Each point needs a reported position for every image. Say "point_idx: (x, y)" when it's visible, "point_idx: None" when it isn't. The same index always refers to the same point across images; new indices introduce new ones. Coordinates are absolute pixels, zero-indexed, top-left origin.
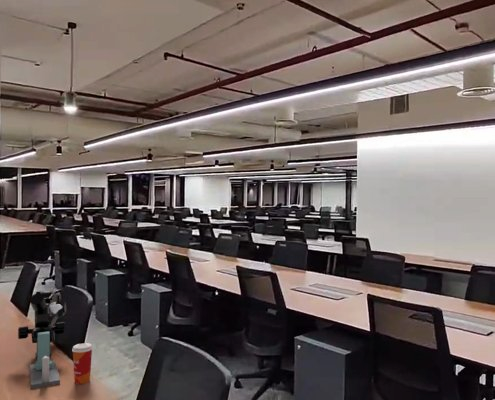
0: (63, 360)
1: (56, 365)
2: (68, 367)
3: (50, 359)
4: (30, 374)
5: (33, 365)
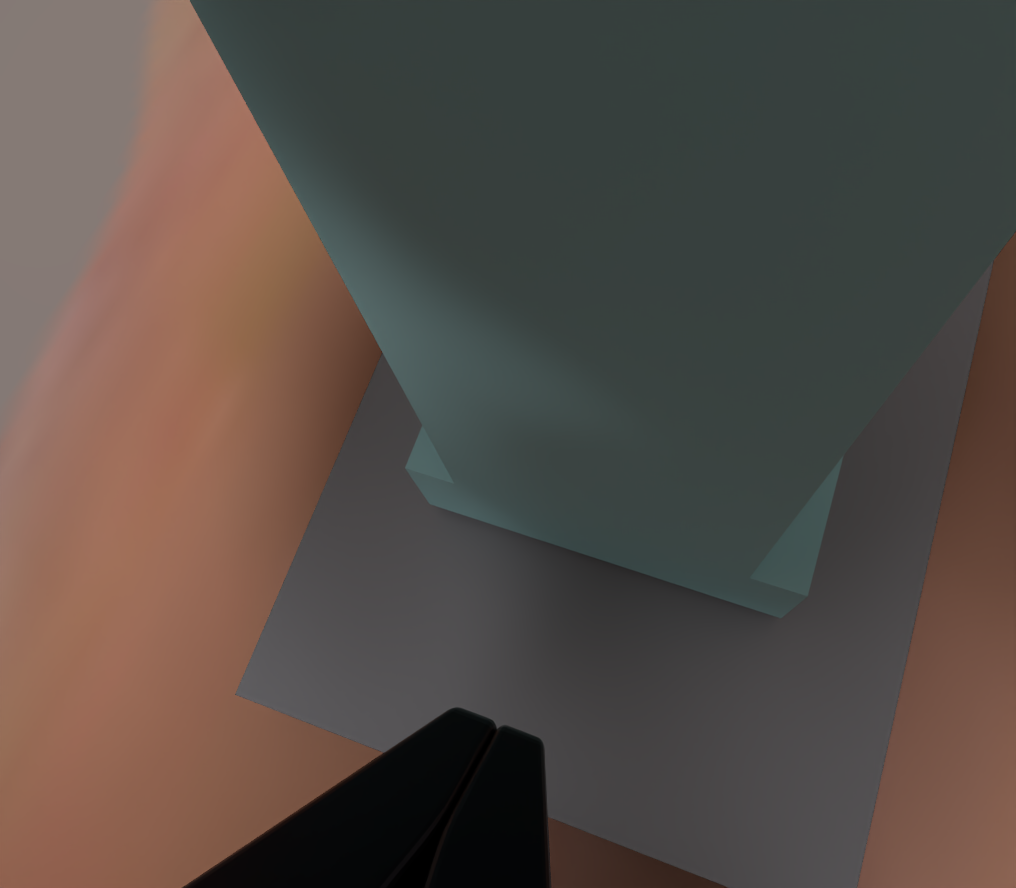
0: (7, 836)
1: (372, 380)
2: (194, 337)
3: (422, 466)
4: (979, 301)
5: (777, 797)
